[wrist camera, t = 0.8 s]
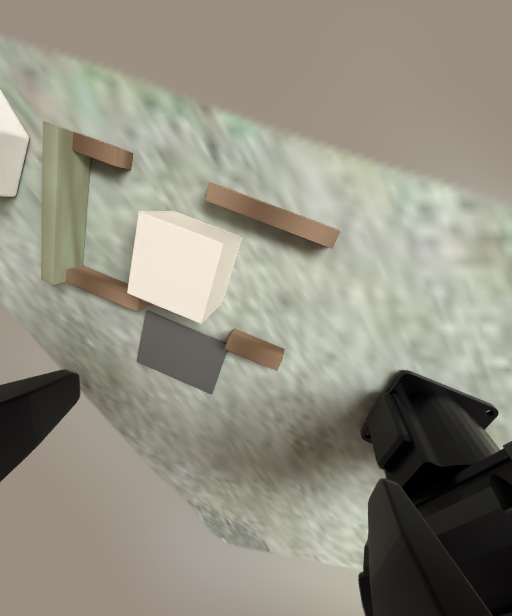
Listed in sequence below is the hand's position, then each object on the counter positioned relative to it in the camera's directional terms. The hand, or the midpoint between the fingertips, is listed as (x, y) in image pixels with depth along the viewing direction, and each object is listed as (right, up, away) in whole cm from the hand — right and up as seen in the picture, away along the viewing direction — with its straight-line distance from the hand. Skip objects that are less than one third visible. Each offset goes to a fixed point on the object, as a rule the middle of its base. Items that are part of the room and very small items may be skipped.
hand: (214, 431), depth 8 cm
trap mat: (-5, 0, +14) cm, 15 cm away
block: (-3, +7, +11) cm, 14 cm away
